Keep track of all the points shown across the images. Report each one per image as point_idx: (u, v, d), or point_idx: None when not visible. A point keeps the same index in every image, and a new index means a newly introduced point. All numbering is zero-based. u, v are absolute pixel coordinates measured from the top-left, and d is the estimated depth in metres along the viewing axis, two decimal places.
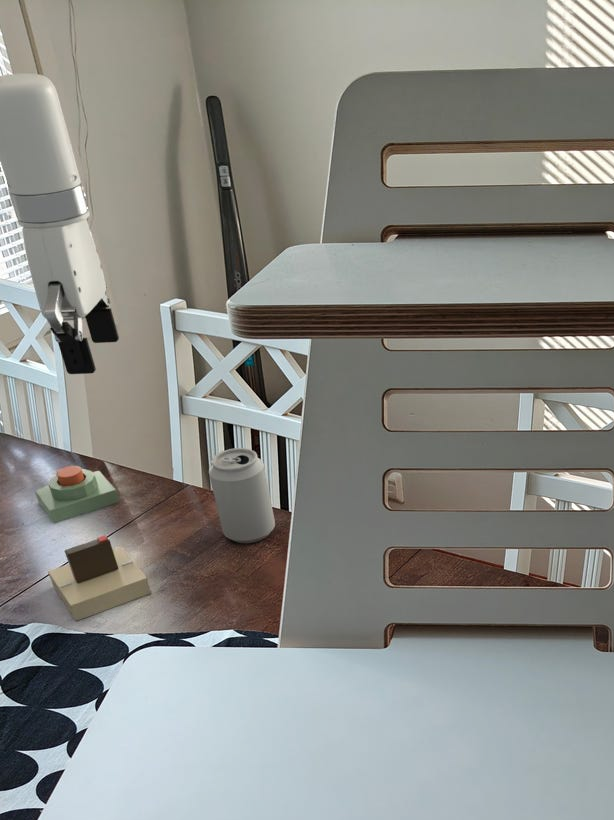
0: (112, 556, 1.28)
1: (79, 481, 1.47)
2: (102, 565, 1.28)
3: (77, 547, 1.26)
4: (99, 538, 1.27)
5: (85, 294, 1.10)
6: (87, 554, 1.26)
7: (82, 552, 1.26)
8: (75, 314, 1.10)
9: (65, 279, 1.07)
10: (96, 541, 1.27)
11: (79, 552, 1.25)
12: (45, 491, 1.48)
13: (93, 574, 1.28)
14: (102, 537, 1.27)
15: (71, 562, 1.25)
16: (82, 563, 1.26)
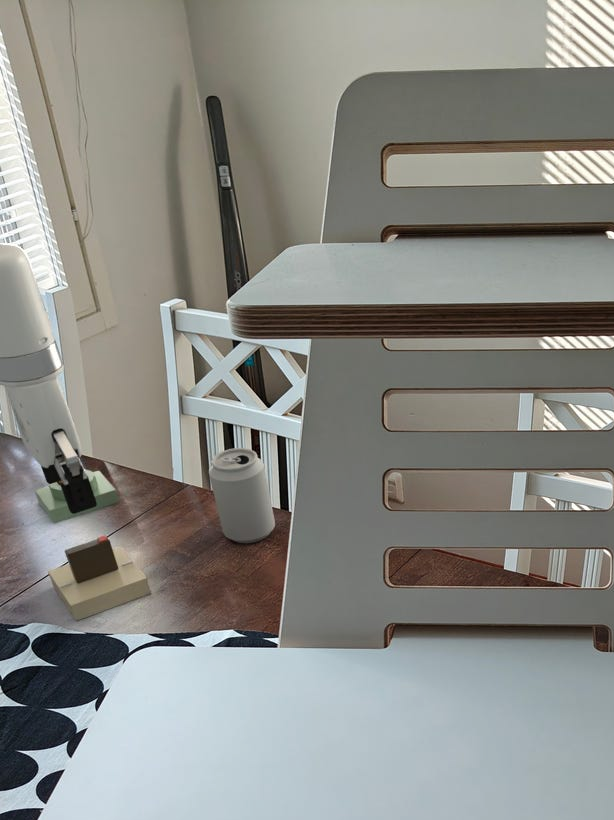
0: (112, 556, 1.28)
1: None
2: (102, 565, 1.28)
3: (77, 547, 1.26)
4: (99, 538, 1.27)
5: None
6: (87, 554, 1.26)
7: (82, 552, 1.26)
8: None
9: (67, 425, 1.12)
10: (96, 541, 1.27)
11: (79, 552, 1.25)
12: (45, 491, 1.48)
13: (93, 574, 1.28)
14: (102, 537, 1.27)
15: (71, 562, 1.25)
16: (82, 563, 1.26)
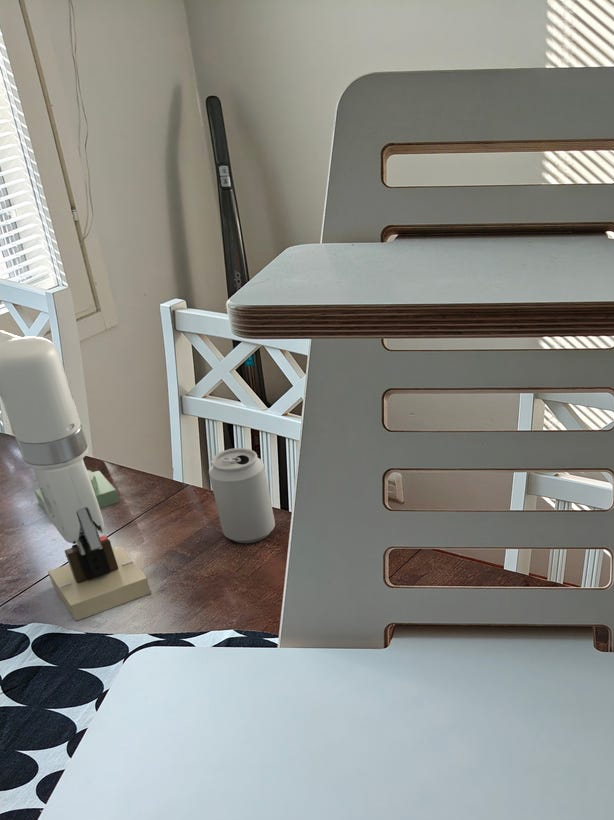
0: (112, 556, 1.28)
1: None
2: None
3: (77, 547, 1.26)
4: None
5: None
6: None
7: None
8: None
9: (91, 504, 1.19)
10: None
11: None
12: None
13: None
14: (102, 537, 1.27)
15: (71, 562, 1.25)
16: None
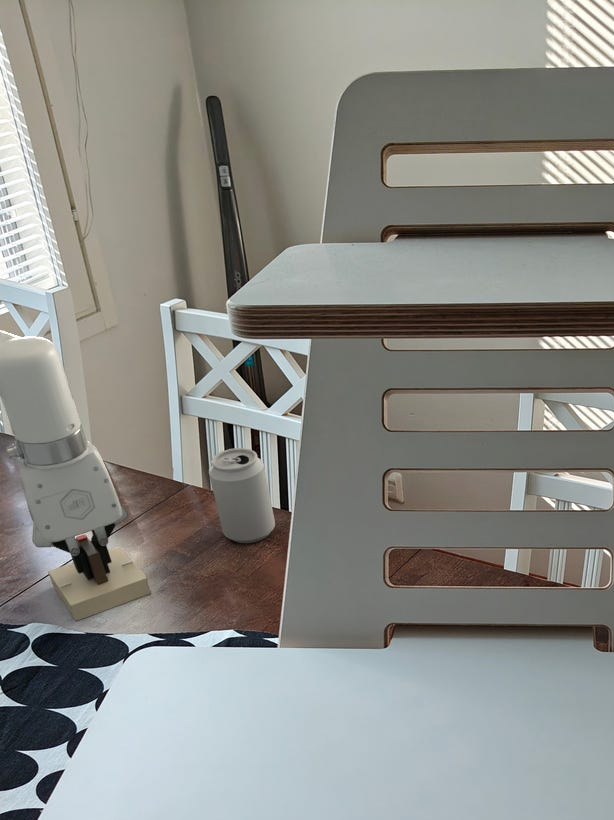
0: None
1: None
2: None
3: (87, 549, 1.25)
4: (81, 538, 1.27)
5: None
6: None
7: (95, 548, 1.26)
8: None
9: None
10: (83, 541, 1.27)
11: (95, 549, 1.26)
12: None
13: None
14: (80, 536, 1.27)
15: (101, 560, 1.25)
16: None
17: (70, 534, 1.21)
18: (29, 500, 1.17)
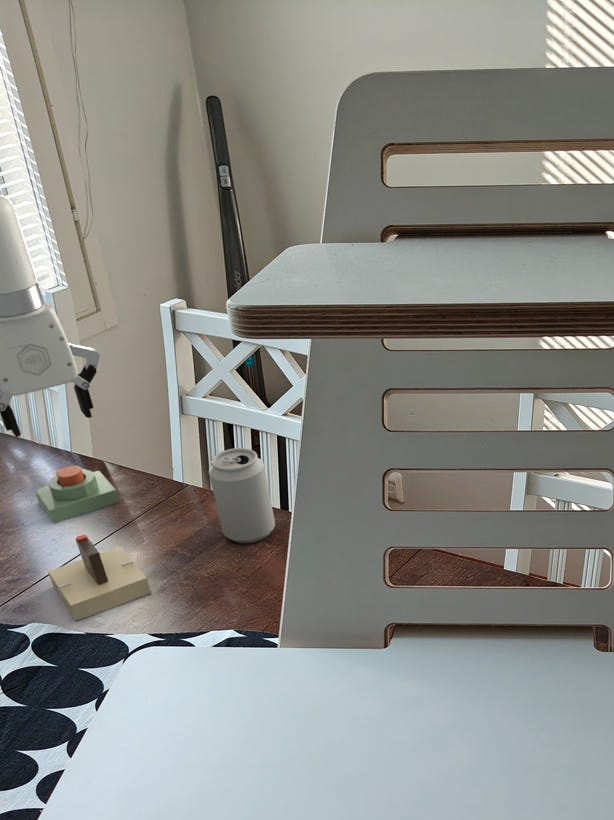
0: None
1: (79, 481, 1.47)
2: None
3: (87, 549, 1.25)
4: (81, 538, 1.27)
5: None
6: None
7: (95, 548, 1.26)
8: None
9: None
10: (83, 541, 1.27)
11: (95, 549, 1.26)
12: (45, 491, 1.48)
13: None
14: (80, 536, 1.27)
15: (101, 560, 1.25)
16: None
17: (27, 389, 1.29)
18: None
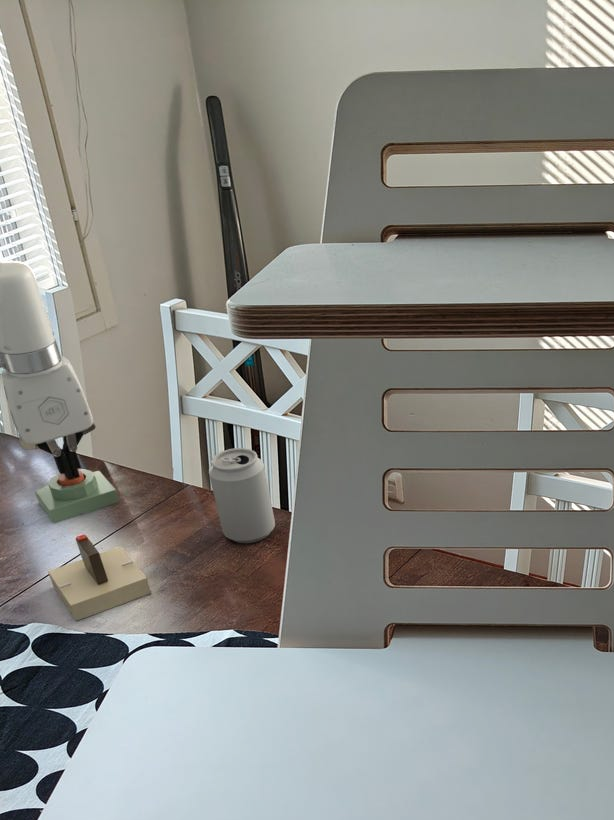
0: None
1: None
2: None
3: (87, 549, 1.25)
4: (81, 538, 1.27)
5: None
6: None
7: (95, 548, 1.26)
8: None
9: None
10: (83, 541, 1.27)
11: (95, 549, 1.26)
12: (45, 491, 1.48)
13: None
14: (80, 536, 1.27)
15: (101, 560, 1.25)
16: None
17: (48, 437, 1.40)
18: (11, 406, 1.36)
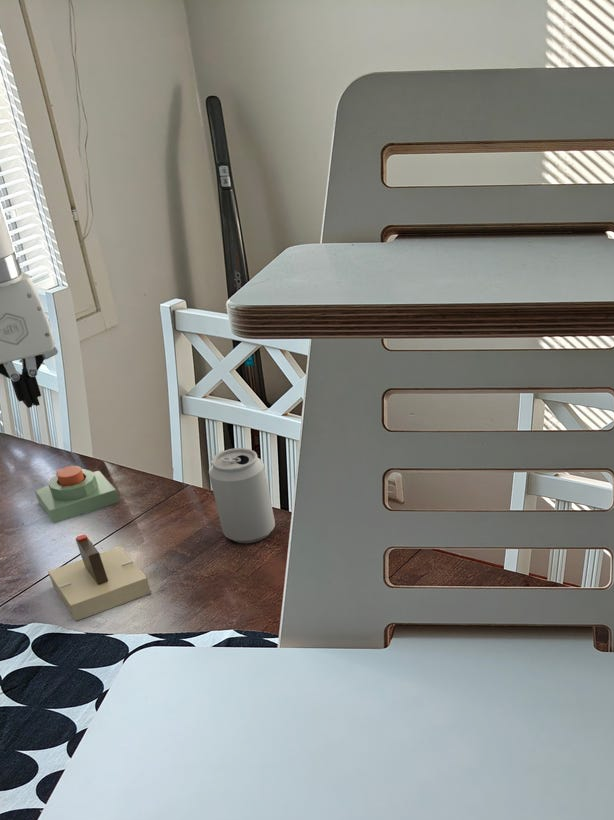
0: None
1: (79, 481, 1.47)
2: None
3: (87, 549, 1.25)
4: (81, 538, 1.27)
5: None
6: None
7: (95, 548, 1.26)
8: None
9: None
10: (83, 541, 1.27)
11: (95, 549, 1.26)
12: (45, 491, 1.48)
13: None
14: (80, 536, 1.27)
15: (101, 560, 1.25)
16: None
17: (5, 358, 1.30)
18: None
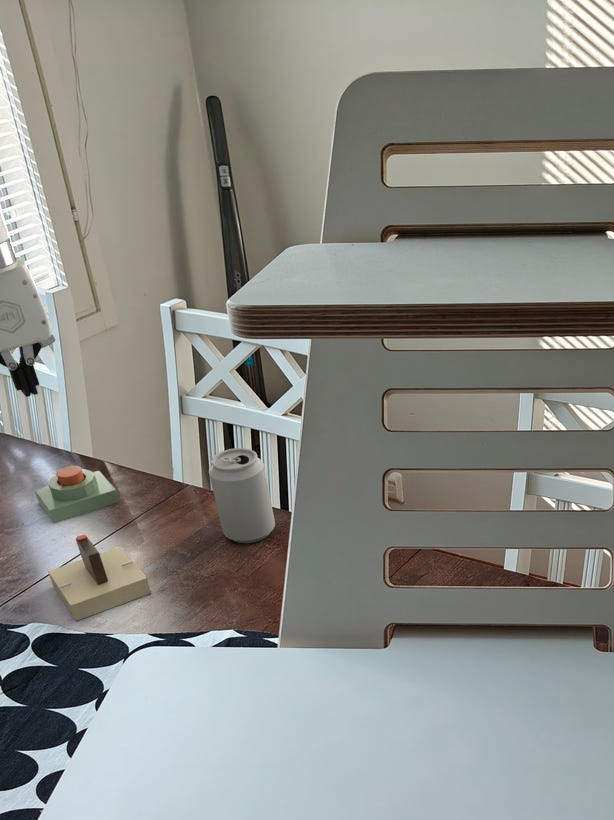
0: None
1: (79, 481, 1.47)
2: None
3: (87, 549, 1.25)
4: (81, 538, 1.27)
5: None
6: None
7: (95, 548, 1.26)
8: None
9: None
10: (83, 541, 1.27)
11: (95, 549, 1.26)
12: (45, 491, 1.48)
13: None
14: (80, 536, 1.27)
15: (101, 560, 1.25)
16: None
17: (1, 347, 1.29)
18: None
